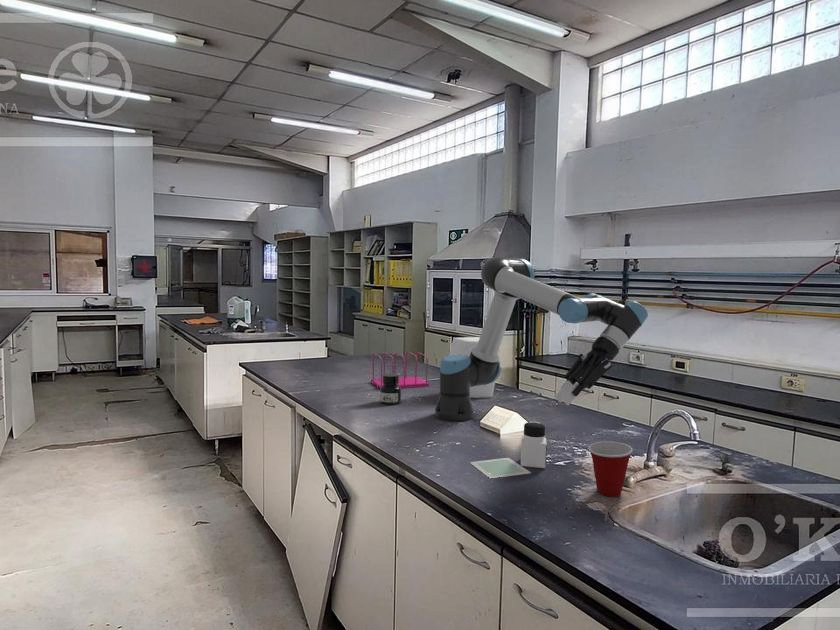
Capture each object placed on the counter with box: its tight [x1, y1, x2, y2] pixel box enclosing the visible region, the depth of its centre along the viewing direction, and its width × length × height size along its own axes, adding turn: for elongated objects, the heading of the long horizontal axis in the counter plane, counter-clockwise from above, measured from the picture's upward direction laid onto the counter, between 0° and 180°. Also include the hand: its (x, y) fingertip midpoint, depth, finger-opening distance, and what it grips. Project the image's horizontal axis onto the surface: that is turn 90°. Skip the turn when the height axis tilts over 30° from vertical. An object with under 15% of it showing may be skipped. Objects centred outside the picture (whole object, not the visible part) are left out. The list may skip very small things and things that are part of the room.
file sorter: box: [370, 351, 430, 389], centre depth 265 cm, size 17×25×16 cm
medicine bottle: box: [520, 421, 548, 469], centre depth 157 cm, size 7×7×12 cm
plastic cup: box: [587, 441, 634, 497], centre depth 137 cm, size 11×11×12 cm
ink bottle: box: [379, 373, 402, 405], centre depth 228 cm, size 10×9×12 cm
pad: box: [469, 457, 532, 480], centre depth 154 cm, size 13×13×1 cm
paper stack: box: [448, 336, 502, 399], centre depth 246 cm, size 21×27×26 cm
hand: (561, 400), depth 159 cm, fingers open, 3 cm apart
